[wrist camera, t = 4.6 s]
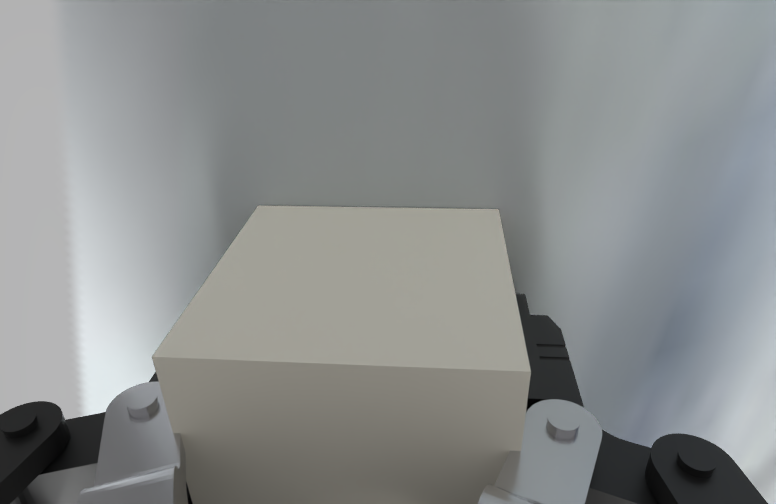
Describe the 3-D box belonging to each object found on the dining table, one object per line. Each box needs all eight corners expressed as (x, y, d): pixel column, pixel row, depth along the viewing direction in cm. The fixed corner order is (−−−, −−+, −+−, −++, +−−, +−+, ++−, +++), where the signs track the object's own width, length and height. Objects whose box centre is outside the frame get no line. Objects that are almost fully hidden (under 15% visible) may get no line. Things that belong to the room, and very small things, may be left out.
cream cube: (498, 208, 13) (531, 372, 8) (484, 395, 15) (502, 603, 11) (258, 205, 13) (151, 356, 8) (284, 387, 16) (213, 581, 11)
